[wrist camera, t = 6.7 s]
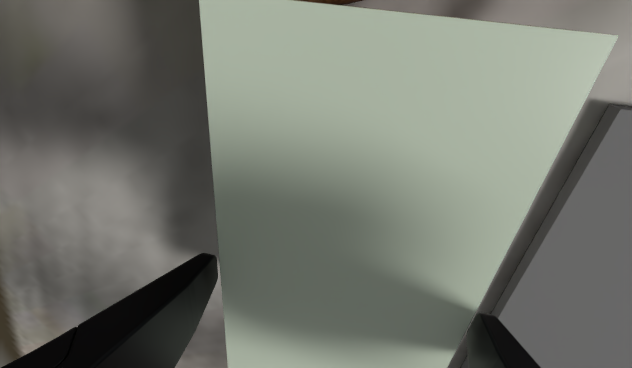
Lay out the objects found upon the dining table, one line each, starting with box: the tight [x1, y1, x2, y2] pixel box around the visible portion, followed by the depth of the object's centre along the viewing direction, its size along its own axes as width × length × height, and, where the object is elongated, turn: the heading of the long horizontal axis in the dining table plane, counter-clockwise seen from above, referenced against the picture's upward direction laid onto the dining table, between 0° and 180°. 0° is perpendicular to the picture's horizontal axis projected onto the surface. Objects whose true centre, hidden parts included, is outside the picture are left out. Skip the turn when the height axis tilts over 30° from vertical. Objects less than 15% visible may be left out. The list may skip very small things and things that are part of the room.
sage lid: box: [199, 0, 618, 368], centre depth 10 cm, size 14×7×2 cm, turn 175°
